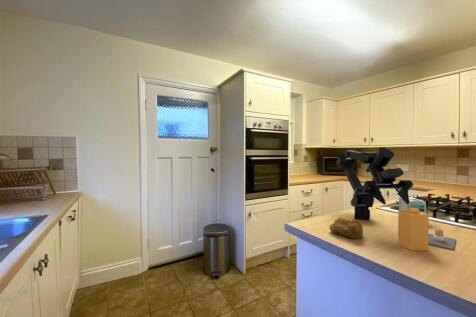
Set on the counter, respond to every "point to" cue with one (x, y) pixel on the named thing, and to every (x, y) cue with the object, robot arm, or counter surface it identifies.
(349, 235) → the bread roll
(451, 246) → the plate
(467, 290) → the counter surface
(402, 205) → the light bulb box
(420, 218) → the orange toy brick
